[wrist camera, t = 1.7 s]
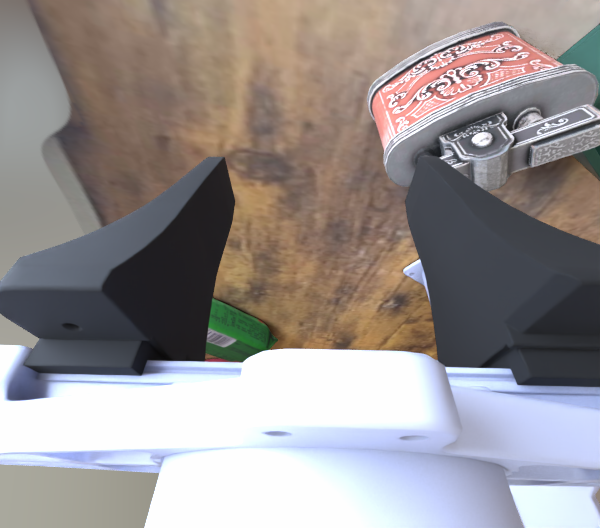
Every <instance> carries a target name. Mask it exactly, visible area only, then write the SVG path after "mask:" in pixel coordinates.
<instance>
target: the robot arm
mask: <svg viewBox="0 0 600 528" xmlns="http://www.w3.org/2000/svg"><path fill="white" fill-rule="evenodd" d="M405 205H406V212H407V218H408V224H409V227H410V230H411V233H412V236H413V240H414V243H415V246H416V249H417V252H418V255H419V258H420V259H419V260H417V261H416V262H414V263H412V264H411V265H409V266H407V267H406V268H404V270H403V271H404V274H405V275H407V276H409V277H411V278H412V279H414V280H416V281H417V282H419V283H421V284H422V285H424V286H425V288H426V292H427V295H428V298H429V302H430V305H431V310H432V316H433V322H434V330H435V338H436V345H437V355H438V360H435V359H433V358H431V357H430V356H428V355H426V354H420V353H413V352H406V351H372V350H325V349H278V350H267V351H262V352H260V353H258V354H256V355H253V356H251V357H249V358H248V359H246V360H245V361H244V363H239V362H205V352H206V342H207V334H208V326H209V318H210V312H211V305H212V298H213V292H214V287H215V281H216V276H217V272H218V268H219V264H220V261H221V258H222V254H223V251H224V248H225V245H226V241H227V238H228V235H229V231H230V228H231V224H232V220H233V213H234V206H235V199H234V195H233V190H232V186H231V182H230V178H229V174H228V170H227V165H226V161H225V157H208V158H206V159H205V160H203V161H202V162H201V163H200V164H198V165H197V166H196V167H195V168H194V169H192V170H191V171H190V172H189V173H188V174H186V175H185V176H184V177H183V178H181V179H180V180H179V181H178V182H177V183H175V184H174V185H173V186H171V187H170V188H169V189H167V190H166V191H165V192H163V193H162V194H161V195H159V196H158V197H157V198H155V199H154V200H152V201H151V202H149V203H148V204H146V205H144V206H143V207H141V208H139V209H138V210H136V211H134V212H133V213H131V214H129V215H127V216H125V217H123V218H121V219H119V220H117V221H115V222H113V223H111V224H109V225H107V226H105V227H103V228H101V229H99V230H96V231H94V232H92V233H89V234H87V235H85V236H82V237H80V238H77V239H74V240H72V241H69V242H66V243H64V244H61V245H58V246H55V247H52V248H49V249H45V250H42V251H39V252H36V253H33V254H30V255H27V256H23V257H20V258H19V259H18V260H17V262H16V263H15V264H14V265H13V266H12V268H11V269H10V270H9V271H8V272H7V274H6V275H5V276H4V277H3V278H2V280H1V281H0V314H2V315H3V316H4V317H6V318H7V319H9V320H11V321H12V322H14V323H15V324H17V325H19V326H20V327H22V328H23V329H25V330H27V331H28V332H30V333H31V334H33V335H35V336H36V337H38V338H40V339H39V341H38V342H37V344H36V345H35V347H34V348H33V349H32V348H29V347H25V346H18V345H0V464H6V465H32V466H51V467H69V468H87V469H103V470H120V471H136V472H152V473H160V474H159V478H158V481H157V485H156V489H155V492H154V496H153V499H152V503H151V507H150V511H149V514H148V518H147V521H146V525H145V528H523V525H524V528H600V504H599V502H598V500H597V498H596V497H595V494H596V493H597V491H598V489H599V488H600V245H599V244H596V243H593V242H591V241H588V240H585V239H582V238H579V237H577V236H574V235H572V234H569V233H566V232H564V231H562V230H559V229H557V228H555V227H552V226H550V225H548V224H545V223H543V222H541V221H539V220H537V219H534V218H532V217H530V216H528V215H527V214H525V213H523V212H521V211H519V210H517V209H515V208H513V207H511V206H510V205H508V204H506V203H504V202H503V201H501V200H500V199H498V198H496V197H495V196H493V195H492V194H490V193H489V192H487V191H486V190H484V189H483V188H481V187H480V186H478V185H477V184H475V183H474V182H473V181H471V180H470V179H468V178H467V177H466V176H464V175H463V174H462V173H460V172H459V171H458V170H456V169H455V168H454V167H452V166H451V165H449V164H448V163H447V162H445V161H444V160H442V159H441V158H439V157H437V156H419V160H418V163H417V166H416V169H415V172H414V175H413V178H412V182H411V185H410V188H409V191H408V194H407V197H406V200H405ZM515 504H516V505H515ZM518 512H519V513H518ZM519 515H520V516H519ZM520 517H521V519H520ZM521 520H522V522H523V525H522V522H521Z"/></svg>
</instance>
